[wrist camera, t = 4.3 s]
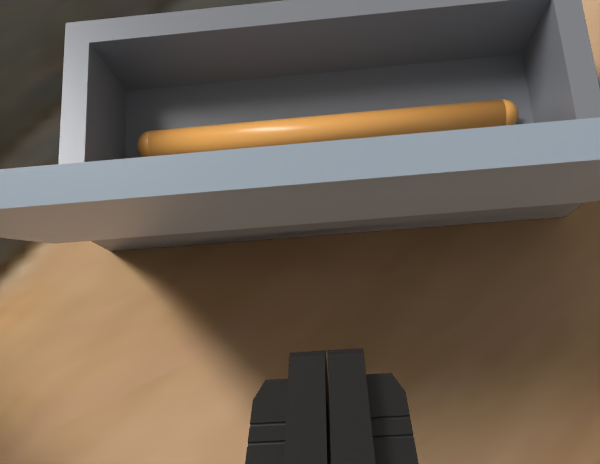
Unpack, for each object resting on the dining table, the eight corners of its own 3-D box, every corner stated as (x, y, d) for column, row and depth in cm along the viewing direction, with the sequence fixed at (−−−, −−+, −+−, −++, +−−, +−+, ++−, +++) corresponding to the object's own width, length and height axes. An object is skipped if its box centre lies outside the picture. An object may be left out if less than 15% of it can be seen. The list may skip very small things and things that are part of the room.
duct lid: (620, 175, 24) (623, 199, 23) (53, 220, 25) (54, 243, 25) (839, 96, 13) (845, 139, 13) (-148, 182, 15) (-149, 221, 15)
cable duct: (565, 216, 30) (618, 177, 24) (110, 251, 31) (55, 221, 25) (534, 44, 32) (575, -30, 26) (114, 84, 34) (65, 23, 28)
